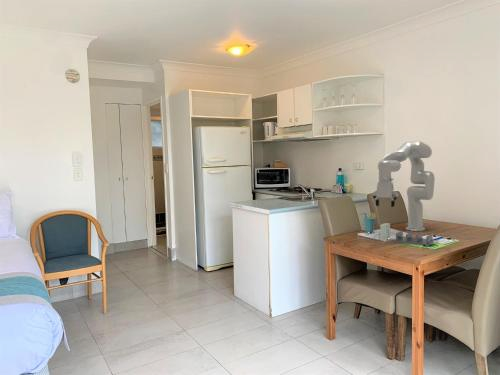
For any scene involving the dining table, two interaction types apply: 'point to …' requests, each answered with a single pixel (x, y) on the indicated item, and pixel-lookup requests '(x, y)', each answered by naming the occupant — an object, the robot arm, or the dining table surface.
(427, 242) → the rack
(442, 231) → the dining table surface
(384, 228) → the pale green rectangular prism
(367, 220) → the cup
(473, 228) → the dining table surface
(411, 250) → the dining table surface
